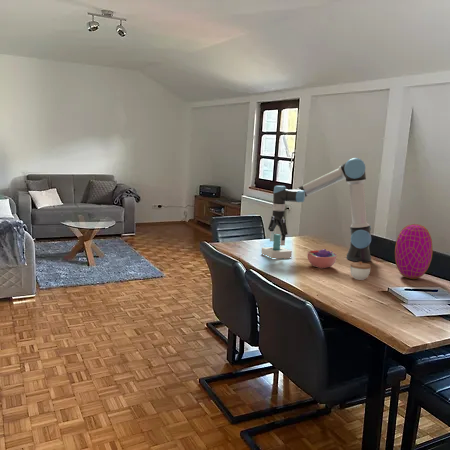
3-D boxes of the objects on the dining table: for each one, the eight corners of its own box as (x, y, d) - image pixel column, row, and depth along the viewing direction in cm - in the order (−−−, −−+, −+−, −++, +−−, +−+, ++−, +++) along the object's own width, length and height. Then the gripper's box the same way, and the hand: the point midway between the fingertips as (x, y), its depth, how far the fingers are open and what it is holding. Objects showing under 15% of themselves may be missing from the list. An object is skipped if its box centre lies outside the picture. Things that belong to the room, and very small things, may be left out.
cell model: (333, 263, 287) (334, 245, 285) (337, 272, 268) (339, 252, 266) (305, 262, 289) (306, 244, 287) (307, 270, 269) (309, 251, 267)
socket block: (291, 257, 299) (291, 251, 298) (272, 259, 293) (272, 252, 292) (280, 253, 311) (280, 246, 311) (261, 254, 306) (261, 247, 305)
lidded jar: (358, 282, 249) (360, 264, 248) (345, 276, 259) (346, 260, 257) (373, 280, 254) (375, 263, 253) (359, 274, 264) (361, 258, 262)
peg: (280, 256, 301) (282, 235, 299) (274, 257, 299) (276, 235, 297) (277, 255, 305) (278, 233, 303) (271, 255, 303) (272, 234, 301)
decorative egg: (431, 277, 264) (437, 224, 260) (426, 285, 248) (432, 229, 243) (396, 271, 274) (401, 220, 269) (389, 278, 257) (394, 224, 252)
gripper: (264, 207, 307) (262, 239, 310) (283, 213, 285) (282, 247, 288) (274, 207, 310) (272, 239, 313) (294, 212, 288) (292, 246, 291)
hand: (277, 243), depth 301 cm, fingers open, 13 cm apart
